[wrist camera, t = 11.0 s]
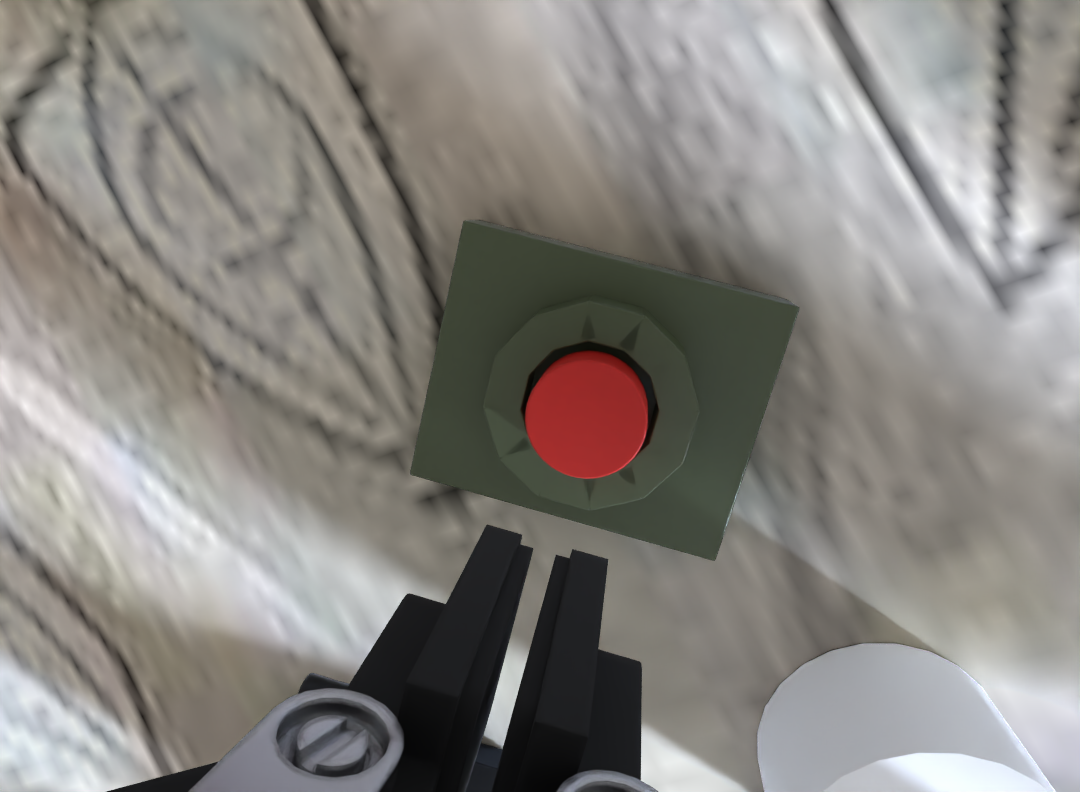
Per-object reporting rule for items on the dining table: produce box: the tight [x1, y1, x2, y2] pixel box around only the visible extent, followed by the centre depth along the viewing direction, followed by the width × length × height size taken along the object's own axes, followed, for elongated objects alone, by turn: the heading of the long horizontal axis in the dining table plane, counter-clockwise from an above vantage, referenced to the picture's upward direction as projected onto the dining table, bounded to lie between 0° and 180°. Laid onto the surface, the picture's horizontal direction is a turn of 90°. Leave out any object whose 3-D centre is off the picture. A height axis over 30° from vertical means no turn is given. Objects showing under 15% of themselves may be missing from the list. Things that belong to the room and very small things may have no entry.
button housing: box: [410, 220, 799, 561], centre depth 26 cm, size 11×9×4 cm
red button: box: [525, 350, 648, 479], centre depth 23 cm, size 4×4×2 cm
